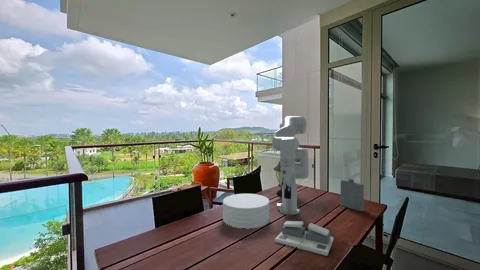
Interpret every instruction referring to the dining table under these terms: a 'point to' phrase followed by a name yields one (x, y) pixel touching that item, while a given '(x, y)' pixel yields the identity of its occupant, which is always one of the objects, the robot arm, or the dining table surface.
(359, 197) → the hip flask
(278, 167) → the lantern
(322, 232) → the right switch
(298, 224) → the left switch
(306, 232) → the panel
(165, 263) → the dining table surface
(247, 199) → the plate stack
